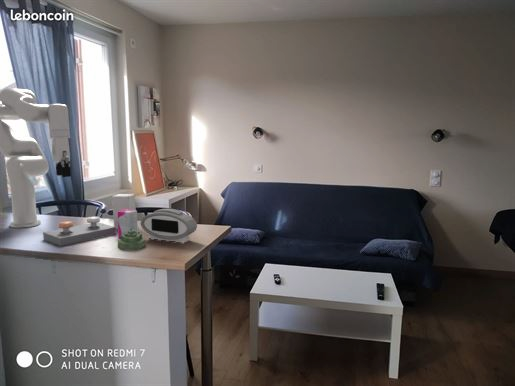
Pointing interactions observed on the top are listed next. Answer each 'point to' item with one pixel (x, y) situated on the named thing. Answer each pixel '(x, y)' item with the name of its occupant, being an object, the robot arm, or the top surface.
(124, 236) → the decorative artifact
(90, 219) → the grey button
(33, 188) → the robot arm
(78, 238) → the button panel
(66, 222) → the terracotta button
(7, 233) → the top surface
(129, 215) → the supplement box
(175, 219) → the alarm clock
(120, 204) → the skincare box
